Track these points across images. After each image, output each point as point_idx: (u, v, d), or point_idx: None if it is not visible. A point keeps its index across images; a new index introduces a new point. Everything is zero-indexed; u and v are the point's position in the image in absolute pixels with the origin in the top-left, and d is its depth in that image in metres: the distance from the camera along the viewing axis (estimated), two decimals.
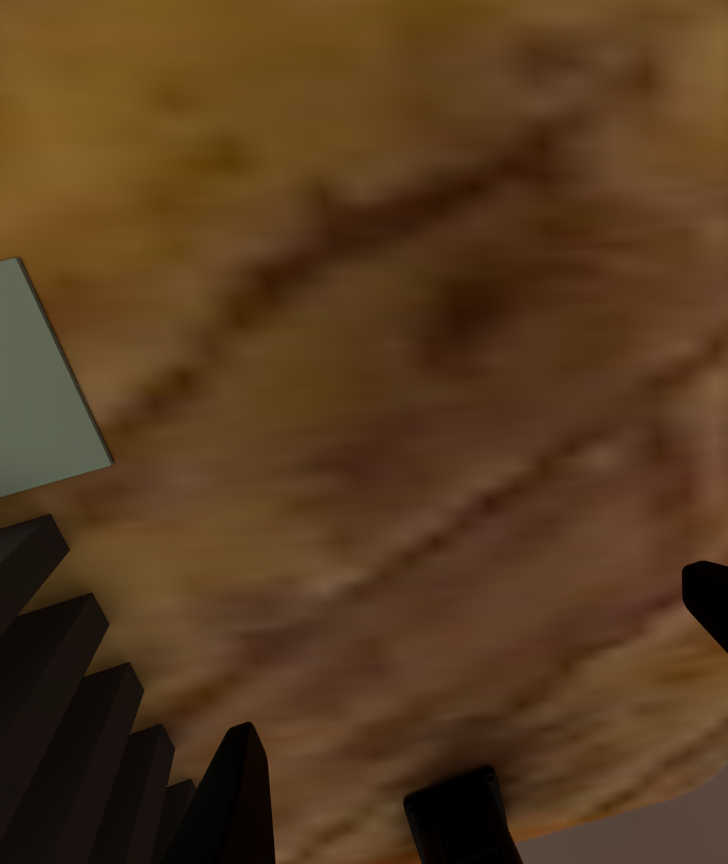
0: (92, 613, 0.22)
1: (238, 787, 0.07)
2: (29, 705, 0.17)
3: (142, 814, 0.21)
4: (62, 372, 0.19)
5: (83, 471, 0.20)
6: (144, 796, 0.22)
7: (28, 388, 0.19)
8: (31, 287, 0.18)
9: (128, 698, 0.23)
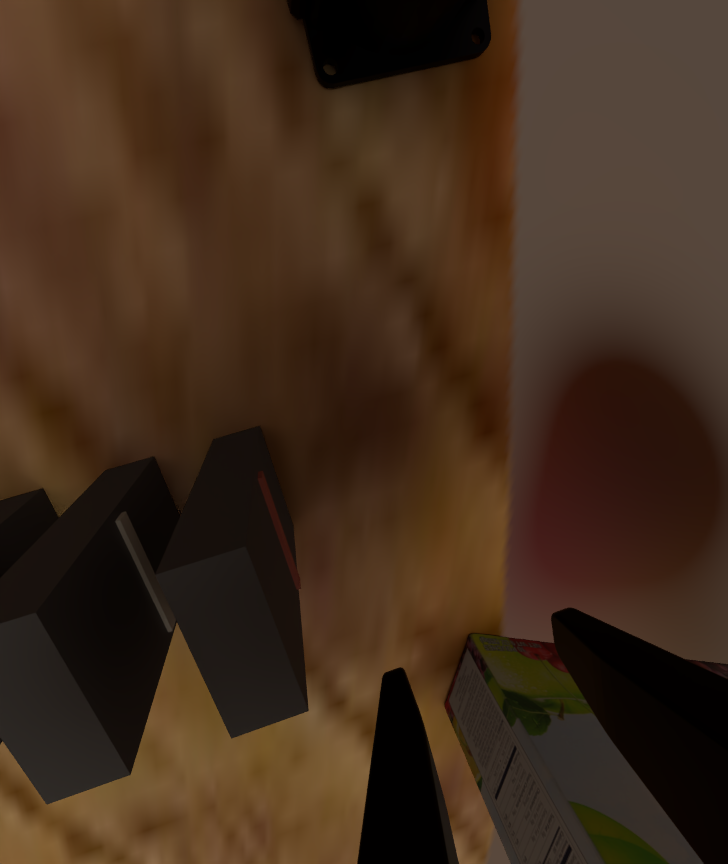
0: None
1: (421, 719, 0.07)
2: None
3: (69, 516, 0.15)
4: None
5: None
6: (72, 509, 0.15)
7: None
8: None
9: None
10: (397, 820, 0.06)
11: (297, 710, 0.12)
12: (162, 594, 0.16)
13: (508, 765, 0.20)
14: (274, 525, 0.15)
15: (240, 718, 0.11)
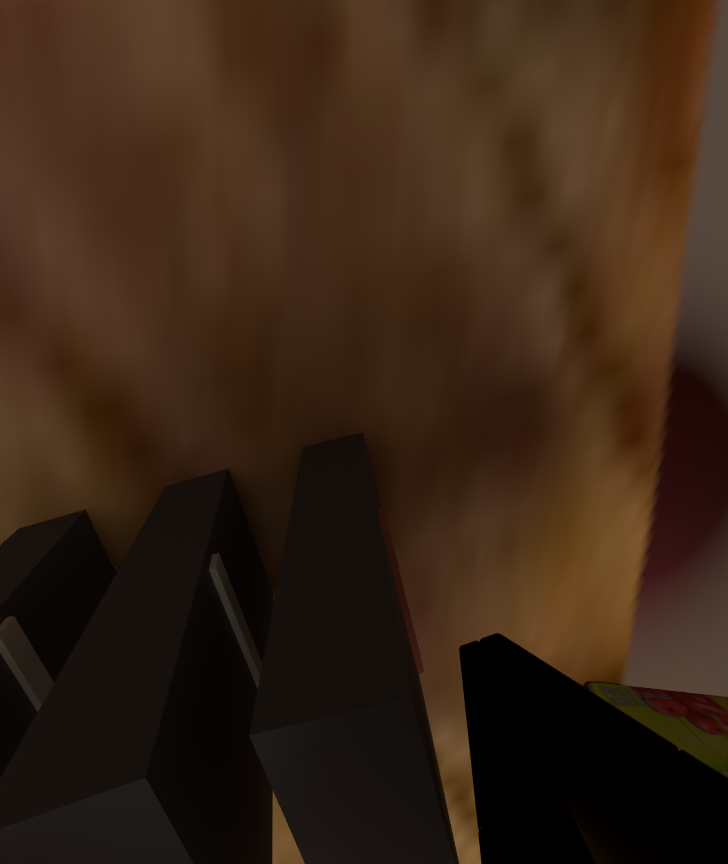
0: None
1: (511, 686, 0.07)
2: None
3: (139, 560, 0.10)
4: None
5: None
6: (139, 547, 0.11)
7: None
8: None
9: (27, 543, 0.13)
10: (509, 776, 0.06)
11: None
12: (261, 664, 0.11)
13: None
14: (397, 587, 0.11)
15: None
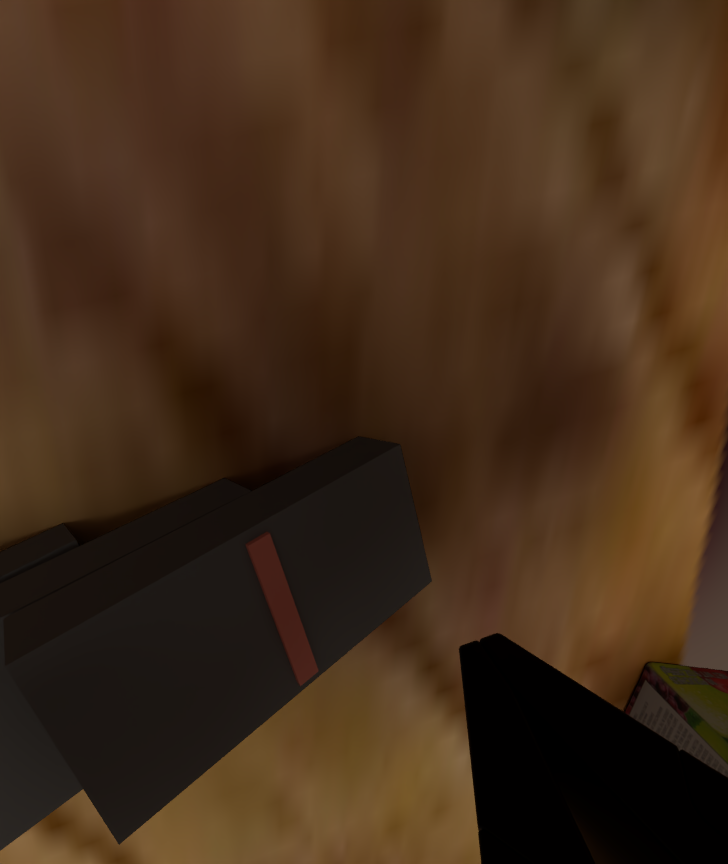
0: None
1: (510, 687, 0.07)
2: None
3: (74, 554, 0.12)
4: None
5: None
6: (101, 539, 0.12)
7: None
8: None
9: (12, 557, 0.13)
10: (509, 776, 0.06)
11: (114, 830, 0.10)
12: None
13: None
14: (266, 604, 0.11)
15: None
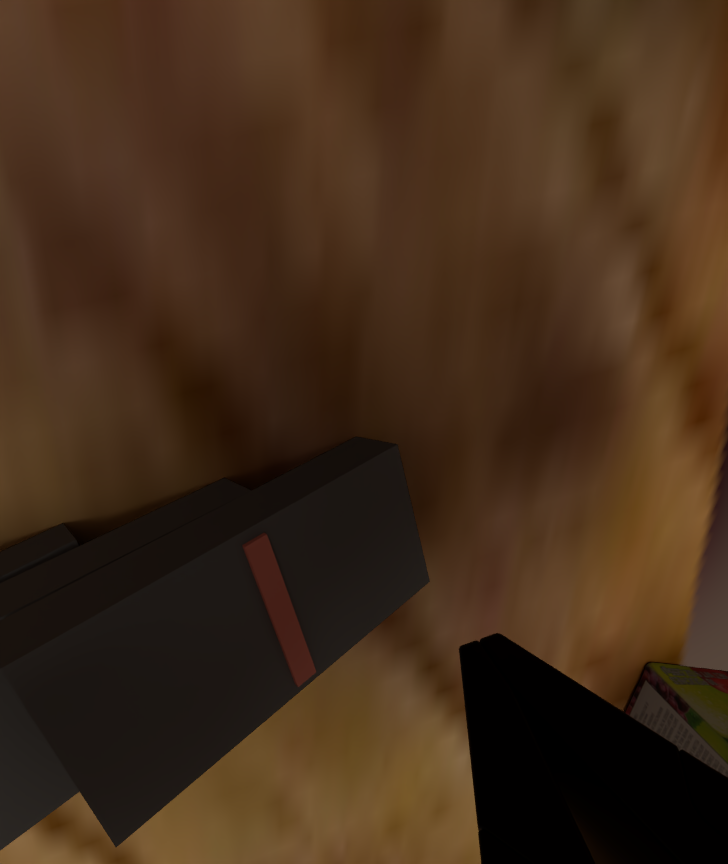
0: None
1: (510, 687, 0.07)
2: None
3: (73, 554, 0.12)
4: None
5: None
6: (101, 539, 0.12)
7: None
8: None
9: (12, 557, 0.13)
10: (509, 776, 0.06)
11: (111, 833, 0.10)
12: None
13: None
14: (263, 605, 0.11)
15: None
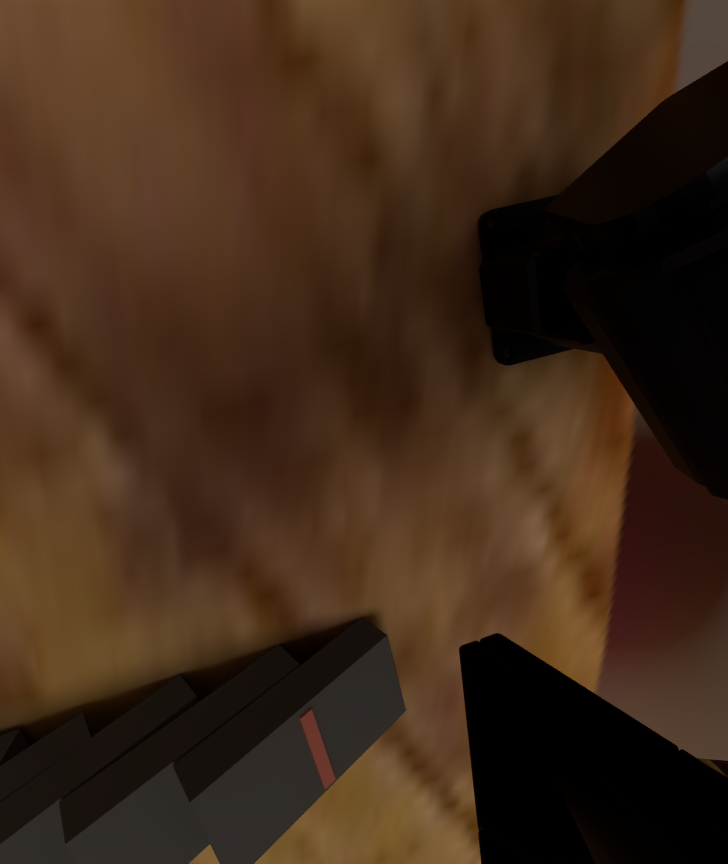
0: (66, 731, 0.21)
1: (510, 686, 0.07)
2: None
3: (198, 709, 0.21)
4: None
5: None
6: (211, 696, 0.21)
7: None
8: None
9: (158, 705, 0.21)
10: (509, 776, 0.06)
11: None
12: None
13: None
14: (308, 746, 0.20)
15: None
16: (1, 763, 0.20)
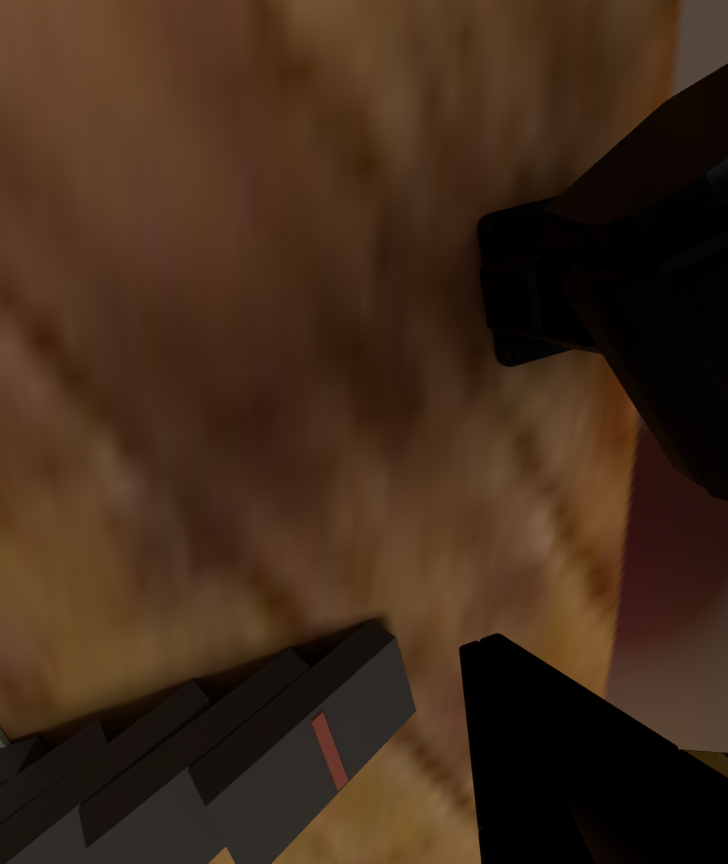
0: (83, 738, 0.21)
1: (510, 686, 0.07)
2: None
3: (212, 713, 0.21)
4: None
5: None
6: (224, 701, 0.21)
7: None
8: None
9: (172, 710, 0.22)
10: (509, 776, 0.06)
11: None
12: None
13: None
14: (320, 749, 0.20)
15: None
16: (20, 770, 0.21)
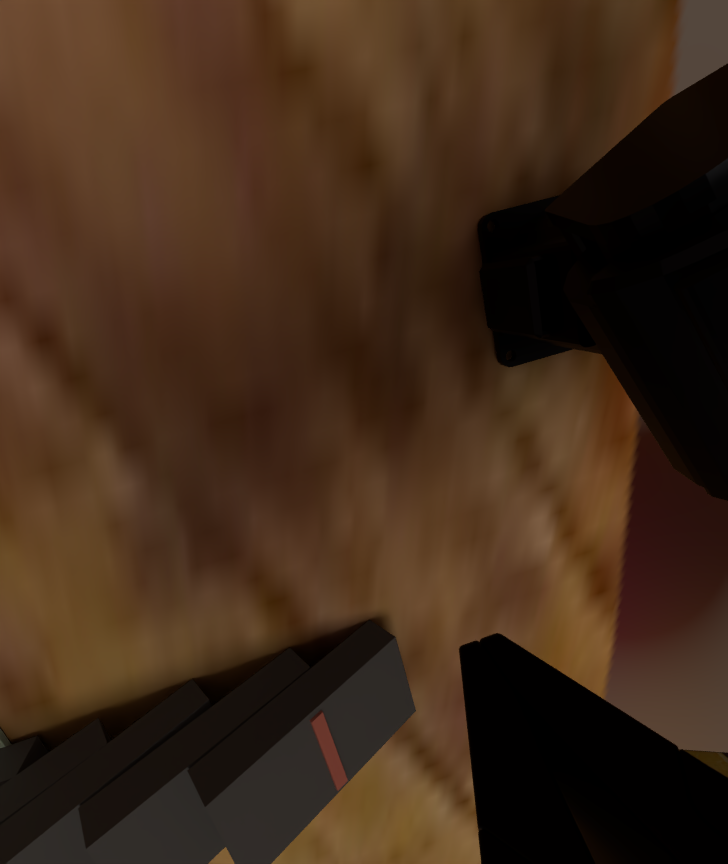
0: (83, 738, 0.21)
1: (510, 686, 0.07)
2: None
3: (212, 713, 0.21)
4: None
5: None
6: (224, 701, 0.21)
7: None
8: None
9: (172, 710, 0.22)
10: (509, 776, 0.06)
11: None
12: None
13: None
14: (320, 749, 0.20)
15: None
16: (20, 770, 0.21)
